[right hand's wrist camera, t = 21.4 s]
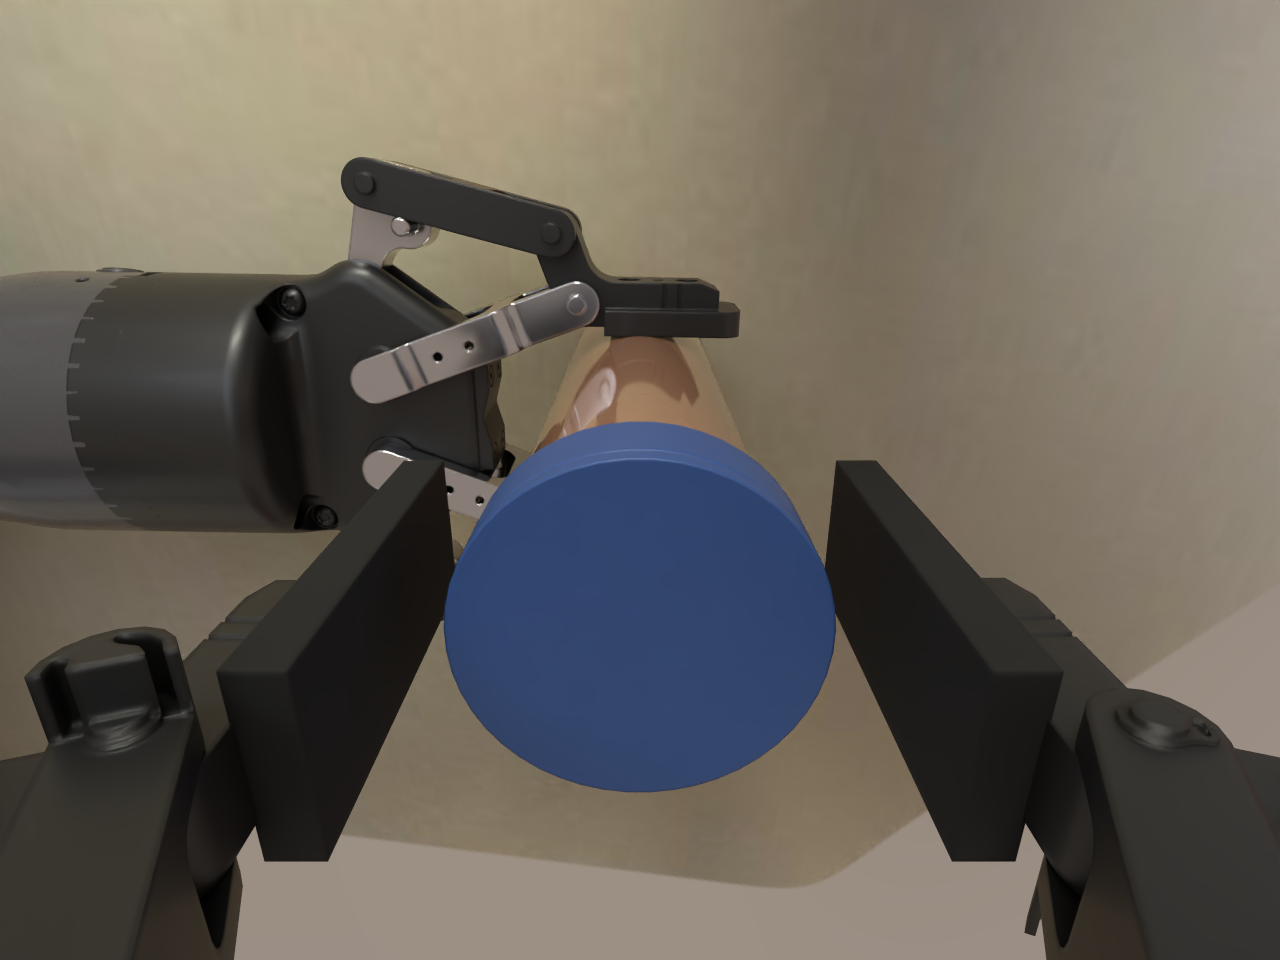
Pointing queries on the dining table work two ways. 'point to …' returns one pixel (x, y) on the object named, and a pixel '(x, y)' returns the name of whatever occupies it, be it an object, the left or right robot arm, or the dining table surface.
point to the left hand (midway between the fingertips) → (727, 413)
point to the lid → (639, 610)
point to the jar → (639, 387)
